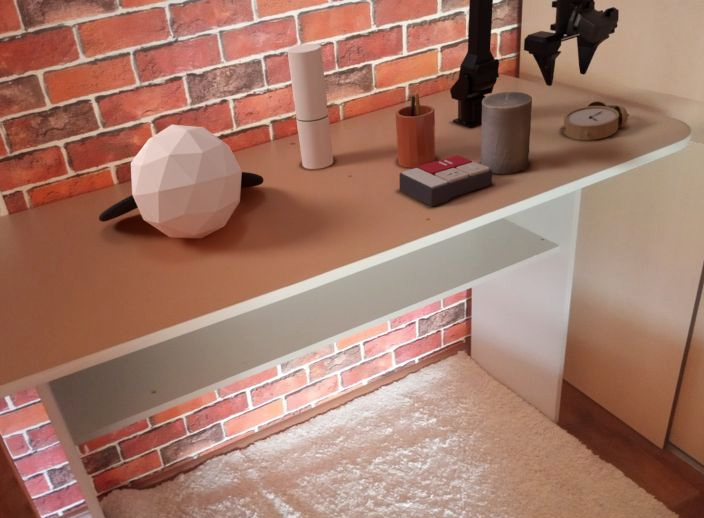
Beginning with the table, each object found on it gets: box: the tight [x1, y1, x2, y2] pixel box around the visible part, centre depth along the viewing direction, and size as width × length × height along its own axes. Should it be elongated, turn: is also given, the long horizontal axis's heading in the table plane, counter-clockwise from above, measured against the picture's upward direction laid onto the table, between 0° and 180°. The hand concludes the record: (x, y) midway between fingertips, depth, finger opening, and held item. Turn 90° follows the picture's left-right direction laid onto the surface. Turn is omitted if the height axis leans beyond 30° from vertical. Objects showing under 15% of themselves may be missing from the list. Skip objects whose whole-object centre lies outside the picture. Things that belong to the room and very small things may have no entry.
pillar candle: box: [480, 91, 533, 175], centre depth 143 cm, size 10×10×15 cm
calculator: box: [399, 154, 494, 207], centre depth 141 cm, size 11×4×15 cm
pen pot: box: [395, 104, 436, 169], centre depth 152 cm, size 8×8×11 cm
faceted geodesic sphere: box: [98, 124, 265, 239], centre depth 138 cm, size 35×30×22 cm
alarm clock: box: [558, 100, 630, 141], centre depth 156 cm, size 11×5×15 cm
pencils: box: [410, 91, 421, 116], centre depth 151 cm, size 3×3×14 cm
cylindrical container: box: [286, 43, 334, 170], centre depth 154 cm, size 7×7×25 cm
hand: (566, 79), depth 141 cm, fingers open, 9 cm apart
